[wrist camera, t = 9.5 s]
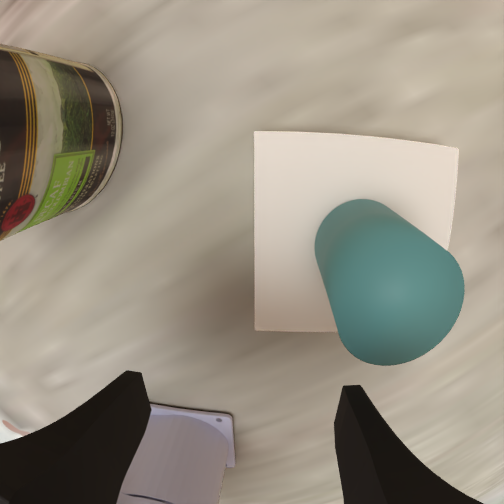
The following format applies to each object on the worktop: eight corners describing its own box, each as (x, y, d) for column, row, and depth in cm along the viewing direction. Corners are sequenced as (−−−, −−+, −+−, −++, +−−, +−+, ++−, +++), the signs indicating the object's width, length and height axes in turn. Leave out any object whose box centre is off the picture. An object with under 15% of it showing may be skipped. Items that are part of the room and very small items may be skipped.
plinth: (258, 303, 20) (254, 330, 17) (258, 133, 16) (254, 131, 14) (413, 304, 19) (429, 329, 16) (433, 145, 16) (458, 148, 13)
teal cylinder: (310, 287, 16) (327, 367, 10) (317, 196, 14) (346, 237, 8) (395, 288, 15) (442, 360, 10) (409, 202, 14) (478, 244, 8)
